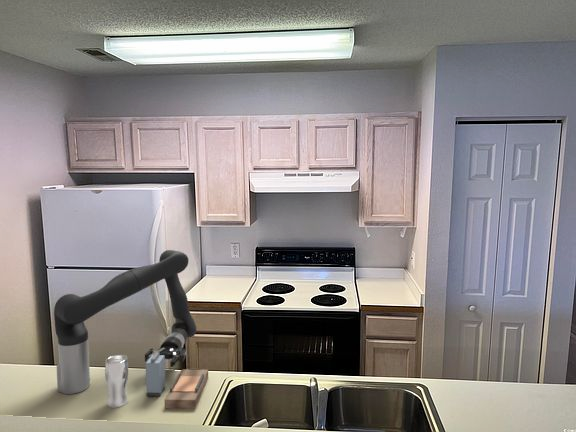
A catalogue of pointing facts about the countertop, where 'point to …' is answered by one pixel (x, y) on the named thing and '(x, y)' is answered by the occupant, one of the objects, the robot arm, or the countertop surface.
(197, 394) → the dock
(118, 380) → the beer glass
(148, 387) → the blue rectangular block
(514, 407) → the countertop surface
